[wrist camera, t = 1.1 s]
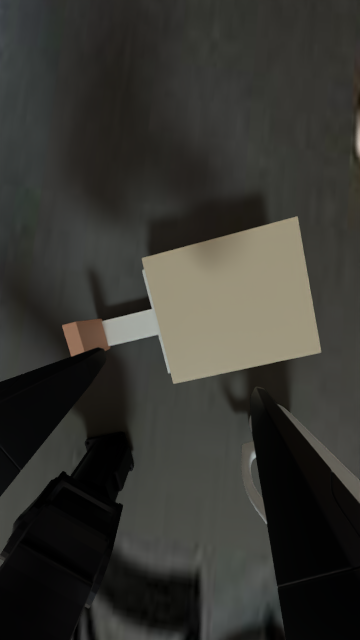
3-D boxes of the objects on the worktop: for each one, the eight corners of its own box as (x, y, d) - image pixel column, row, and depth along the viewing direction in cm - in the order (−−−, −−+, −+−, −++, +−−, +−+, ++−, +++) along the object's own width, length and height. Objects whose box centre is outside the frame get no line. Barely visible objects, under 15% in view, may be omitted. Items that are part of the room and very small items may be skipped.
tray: (109, 374, 22) (83, 397, 17) (86, 294, 22) (51, 289, 16) (275, 337, 21) (309, 348, 15) (258, 249, 20) (287, 227, 14)
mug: (286, 395, 22) (400, 496, 11) (297, 436, 23) (417, 576, 11) (220, 412, 23) (257, 524, 11) (232, 451, 24) (279, 599, 12)
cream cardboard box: (176, 363, 23) (173, 383, 17) (153, 271, 22) (141, 258, 16) (284, 340, 22) (321, 352, 16) (265, 242, 21) (297, 216, 15)
